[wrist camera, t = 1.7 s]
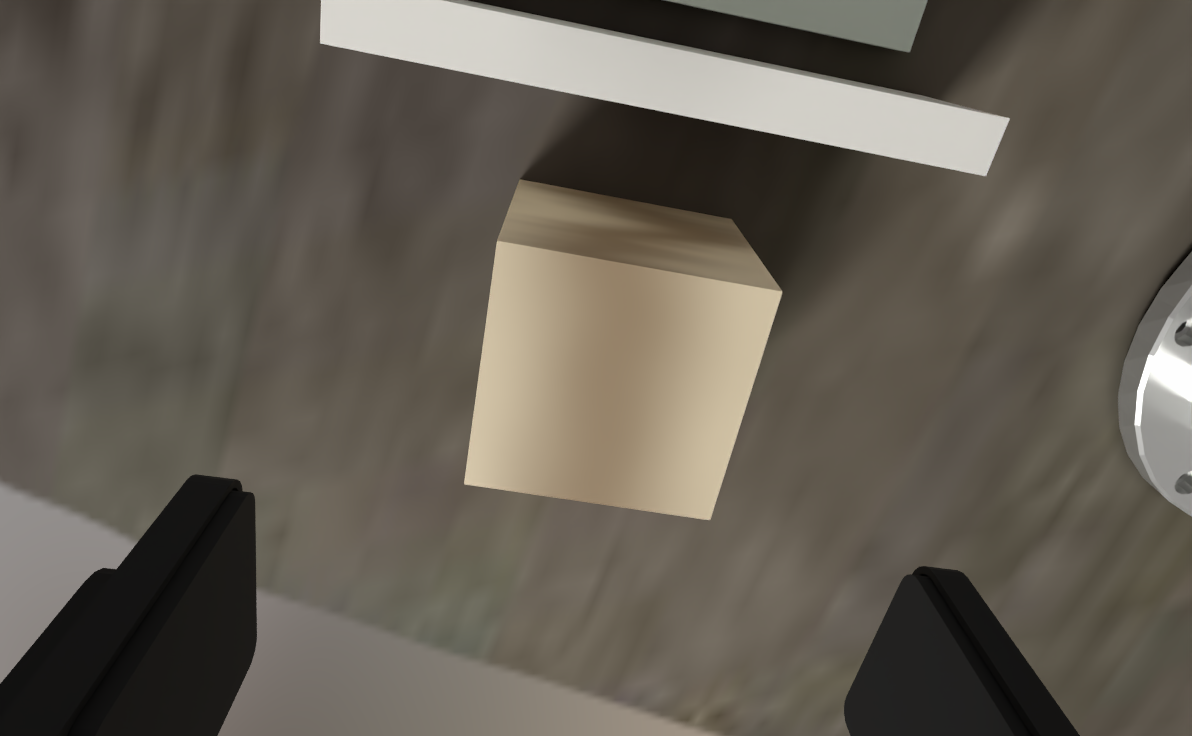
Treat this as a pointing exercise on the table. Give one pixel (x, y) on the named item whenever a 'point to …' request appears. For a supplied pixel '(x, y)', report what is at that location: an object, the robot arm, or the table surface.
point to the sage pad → (832, 17)
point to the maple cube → (617, 351)
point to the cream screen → (666, 78)
